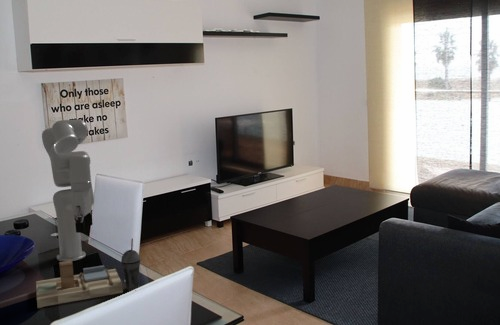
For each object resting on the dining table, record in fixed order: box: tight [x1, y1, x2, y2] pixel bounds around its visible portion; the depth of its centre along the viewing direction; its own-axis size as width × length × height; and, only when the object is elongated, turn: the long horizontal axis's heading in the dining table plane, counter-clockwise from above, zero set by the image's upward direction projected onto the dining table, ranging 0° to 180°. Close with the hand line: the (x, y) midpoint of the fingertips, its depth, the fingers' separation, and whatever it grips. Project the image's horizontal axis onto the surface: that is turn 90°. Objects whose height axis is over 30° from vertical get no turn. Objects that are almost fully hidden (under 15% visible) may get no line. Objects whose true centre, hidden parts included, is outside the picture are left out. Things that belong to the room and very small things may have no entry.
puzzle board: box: [35, 268, 124, 309], centre depth 198 cm, size 18×30×4 cm, turn 113°
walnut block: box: [58, 260, 75, 289], centre depth 196 cm, size 4×4×10 cm
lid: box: [82, 264, 108, 282], centre depth 203 cm, size 8×8×2 cm
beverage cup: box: [120, 237, 141, 292], centre depth 197 cm, size 7×7×20 cm
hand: (84, 228), depth 203 cm, fingers open, 9 cm apart
